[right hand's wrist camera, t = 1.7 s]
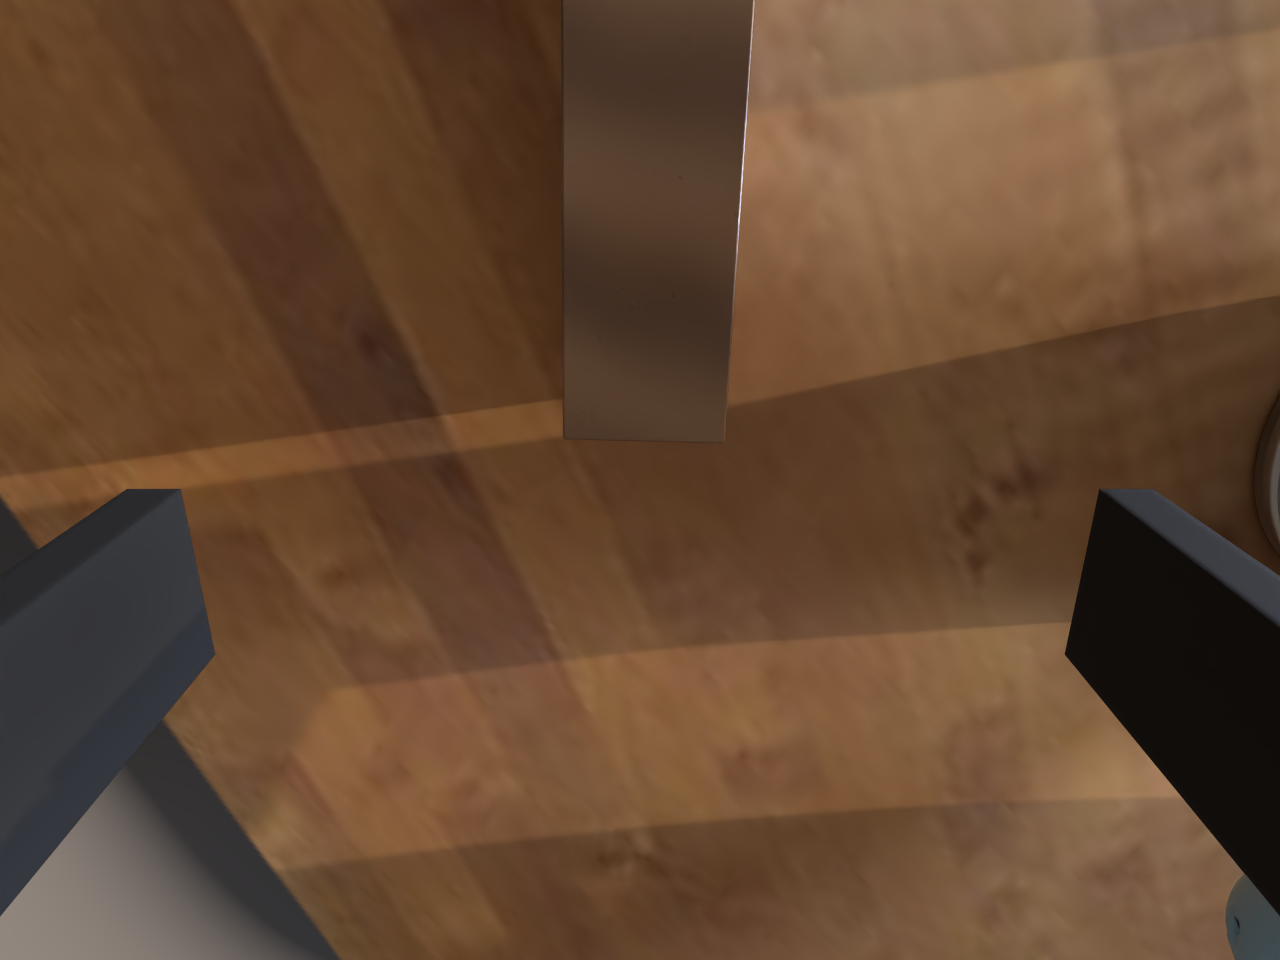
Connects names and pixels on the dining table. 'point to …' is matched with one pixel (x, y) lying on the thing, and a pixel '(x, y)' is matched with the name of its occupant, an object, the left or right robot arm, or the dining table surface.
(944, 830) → the dining table surface
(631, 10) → the post
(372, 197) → the dining table surface
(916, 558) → the dining table surface
